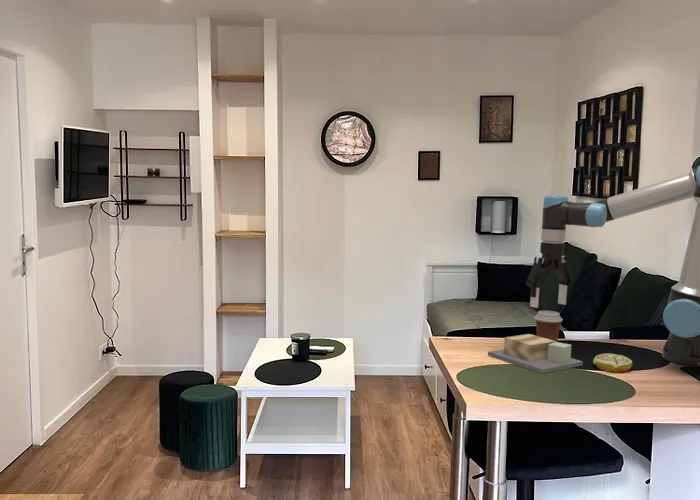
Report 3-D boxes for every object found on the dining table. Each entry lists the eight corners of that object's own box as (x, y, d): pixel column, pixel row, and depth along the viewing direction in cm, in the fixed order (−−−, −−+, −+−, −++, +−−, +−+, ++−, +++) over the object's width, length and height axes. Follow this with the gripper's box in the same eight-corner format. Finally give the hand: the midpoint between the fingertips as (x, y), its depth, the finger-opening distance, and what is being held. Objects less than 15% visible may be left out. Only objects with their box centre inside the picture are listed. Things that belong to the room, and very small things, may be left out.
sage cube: (570, 360, 200) (571, 344, 199) (563, 364, 196) (564, 347, 195) (554, 357, 203) (555, 341, 202) (547, 360, 199) (548, 344, 199)
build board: (582, 365, 200) (582, 361, 199) (542, 373, 190) (542, 369, 190) (527, 348, 218) (527, 345, 218) (487, 355, 208) (487, 351, 208)
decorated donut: (586, 367, 198) (587, 355, 198) (605, 362, 205) (606, 350, 205) (619, 375, 190) (619, 363, 190) (637, 369, 197) (638, 357, 196)
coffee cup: (551, 352, 214) (553, 316, 212) (527, 347, 220) (529, 311, 219) (566, 348, 220) (568, 313, 218) (541, 343, 226) (543, 308, 225)
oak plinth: (555, 357, 204) (556, 341, 203) (530, 361, 198) (531, 345, 197) (528, 348, 213) (529, 333, 212) (503, 352, 207) (504, 337, 207)
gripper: (568, 240, 226) (564, 300, 228) (517, 241, 213) (513, 306, 215) (586, 242, 220) (582, 304, 222) (535, 244, 206) (530, 310, 209)
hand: (548, 305), depth 219 cm, fingers open, 13 cm apart
